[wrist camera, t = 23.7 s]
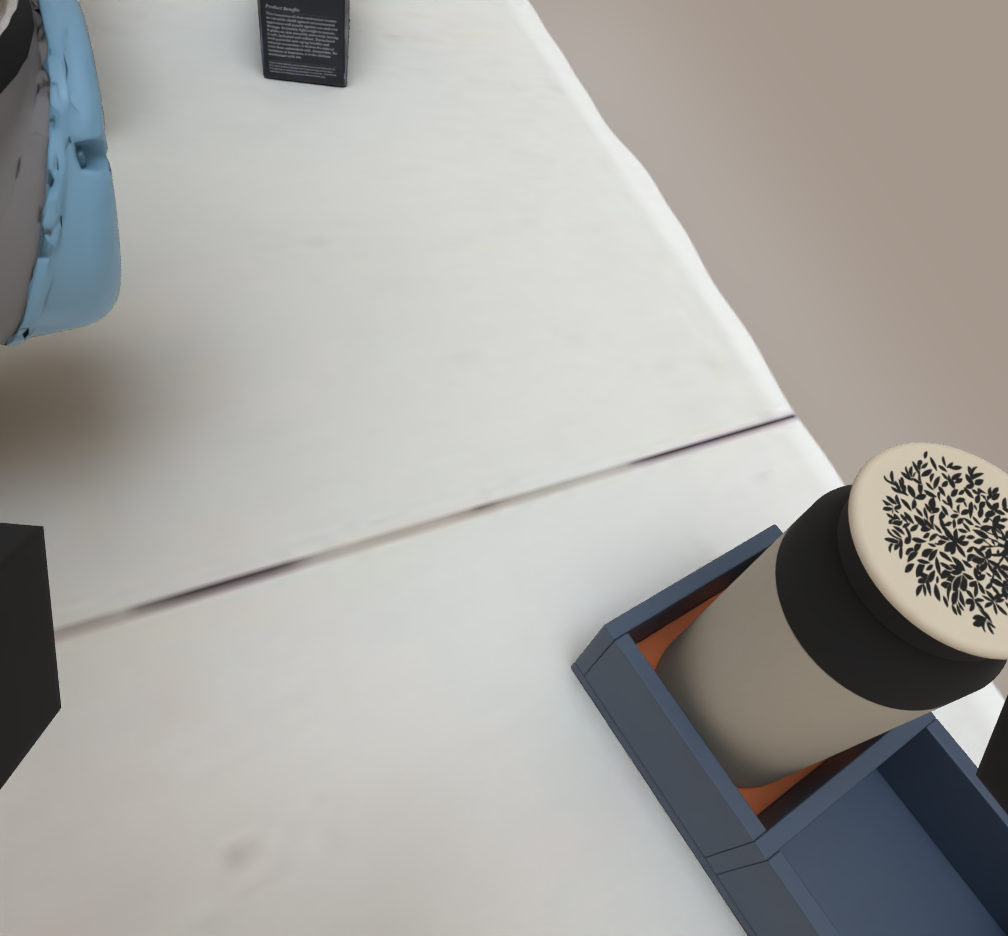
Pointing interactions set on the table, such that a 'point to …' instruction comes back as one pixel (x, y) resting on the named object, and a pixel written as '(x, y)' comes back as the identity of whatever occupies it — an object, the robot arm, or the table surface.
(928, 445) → the travel mug
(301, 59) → the small box
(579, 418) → the table surface
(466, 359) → the table surface
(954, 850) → the divided storage bin
